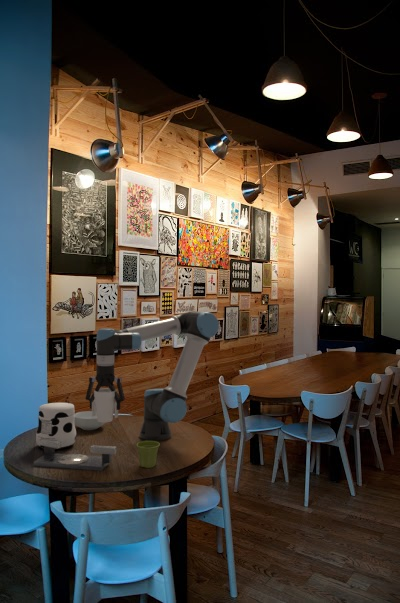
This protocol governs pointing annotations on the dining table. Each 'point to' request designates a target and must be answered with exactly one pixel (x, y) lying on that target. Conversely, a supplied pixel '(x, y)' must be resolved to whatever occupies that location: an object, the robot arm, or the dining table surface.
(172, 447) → the dining table surface
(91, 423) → the cereal bowl
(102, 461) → the shaft stand
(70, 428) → the milk container
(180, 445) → the dining table surface
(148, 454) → the plant pot
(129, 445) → the dining table surface
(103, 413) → the foam cup
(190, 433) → the dining table surface
